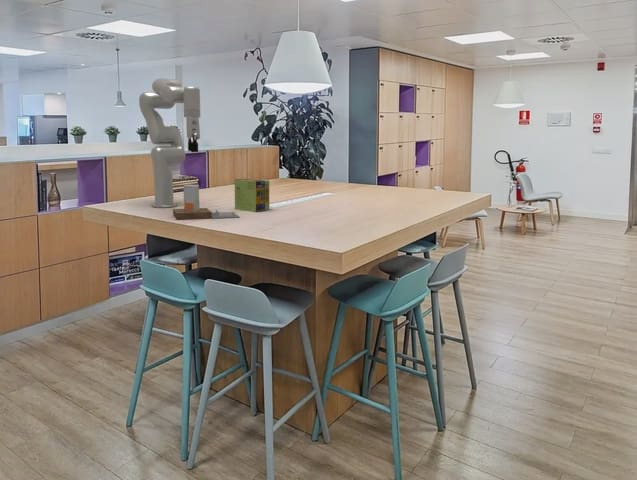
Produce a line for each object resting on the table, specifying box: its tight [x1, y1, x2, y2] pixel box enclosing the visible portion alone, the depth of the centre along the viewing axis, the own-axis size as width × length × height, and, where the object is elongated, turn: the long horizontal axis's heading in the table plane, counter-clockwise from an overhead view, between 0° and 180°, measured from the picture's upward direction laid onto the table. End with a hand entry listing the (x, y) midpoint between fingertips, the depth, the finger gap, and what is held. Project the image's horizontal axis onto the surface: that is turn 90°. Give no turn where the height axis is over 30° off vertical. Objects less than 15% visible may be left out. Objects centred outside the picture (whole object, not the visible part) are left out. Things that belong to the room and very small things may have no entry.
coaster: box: [215, 208, 233, 217], centre depth 267 cm, size 9×6×2 cm, turn 21°
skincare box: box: [183, 184, 200, 212], centre depth 261 cm, size 6×4×12 cm
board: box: [172, 207, 213, 221], centre depth 262 cm, size 14×16×3 cm
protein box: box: [234, 178, 270, 213], centre depth 287 cm, size 10×15×16 cm
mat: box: [212, 211, 241, 220], centre depth 268 cm, size 16×13×1 cm
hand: (193, 151), depth 262 cm, fingers open, 9 cm apart
